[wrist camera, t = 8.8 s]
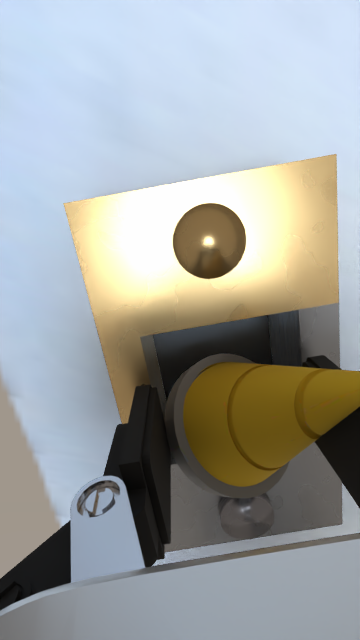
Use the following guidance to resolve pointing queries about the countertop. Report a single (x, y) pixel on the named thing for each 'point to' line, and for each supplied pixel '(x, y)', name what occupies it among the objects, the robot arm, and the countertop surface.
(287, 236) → the metal strike plate
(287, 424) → the yellow tiered cone
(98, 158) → the countertop surface
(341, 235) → the countertop surface
